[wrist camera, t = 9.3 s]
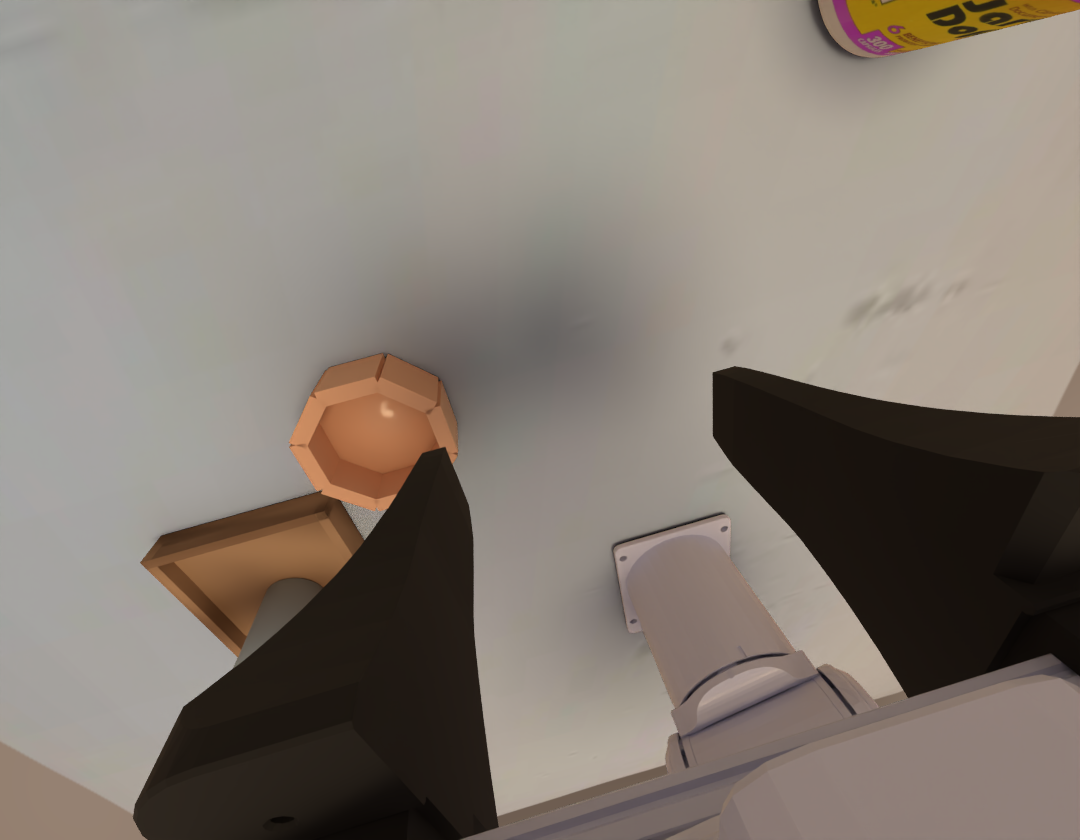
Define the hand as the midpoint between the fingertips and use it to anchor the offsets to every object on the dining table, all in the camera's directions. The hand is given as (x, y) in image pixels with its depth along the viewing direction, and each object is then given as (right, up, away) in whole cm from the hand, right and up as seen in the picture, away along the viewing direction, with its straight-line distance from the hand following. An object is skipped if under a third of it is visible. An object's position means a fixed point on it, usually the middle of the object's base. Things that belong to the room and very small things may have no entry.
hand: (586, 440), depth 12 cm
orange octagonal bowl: (-9, +1, +10) cm, 13 cm away
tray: (-15, -9, +14) cm, 23 cm away
